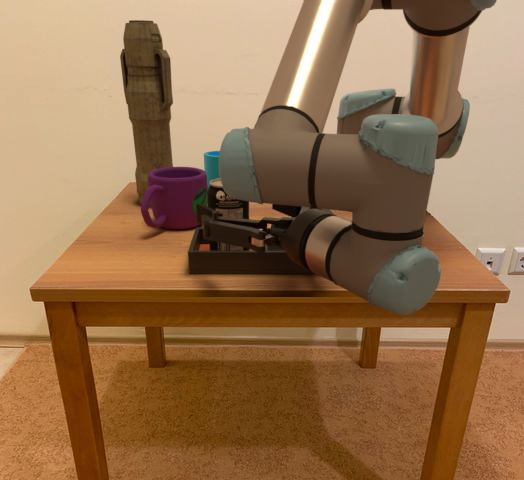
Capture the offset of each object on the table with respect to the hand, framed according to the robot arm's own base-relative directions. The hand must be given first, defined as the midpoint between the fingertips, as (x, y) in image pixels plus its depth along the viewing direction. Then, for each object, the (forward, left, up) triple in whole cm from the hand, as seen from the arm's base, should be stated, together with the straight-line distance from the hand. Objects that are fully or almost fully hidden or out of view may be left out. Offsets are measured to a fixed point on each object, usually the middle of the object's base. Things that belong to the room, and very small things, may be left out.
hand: (238, 206), depth 79 cm
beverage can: (0, -3, -9) cm, 10 cm away
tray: (-5, 0, -10) cm, 11 cm away
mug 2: (-21, -48, -10) cm, 53 cm away
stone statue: (-1, -43, -10) cm, 44 cm away
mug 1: (+3, -24, -10) cm, 26 cm away
